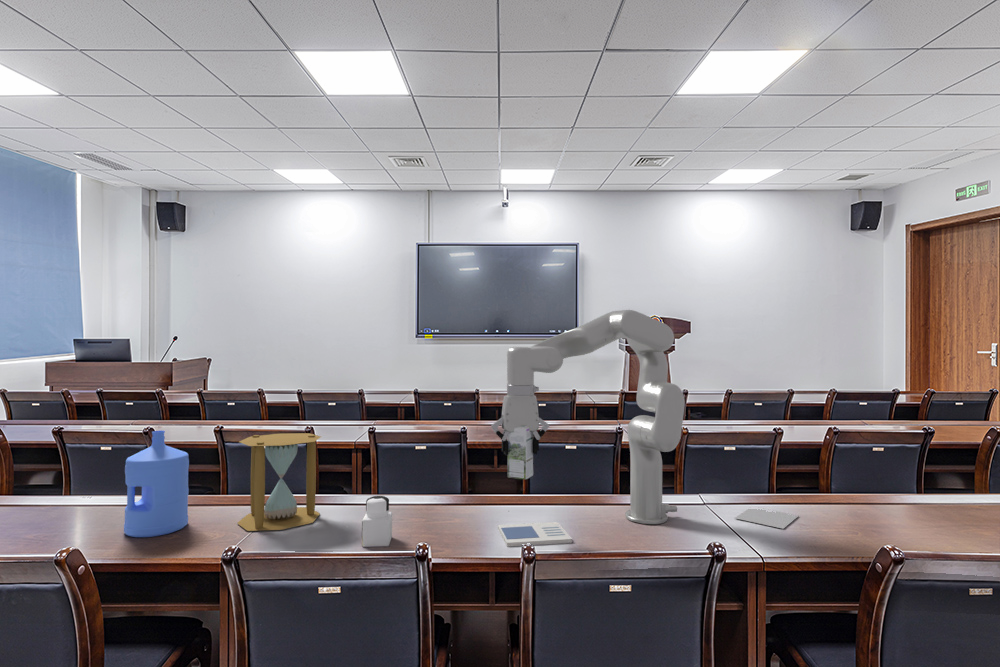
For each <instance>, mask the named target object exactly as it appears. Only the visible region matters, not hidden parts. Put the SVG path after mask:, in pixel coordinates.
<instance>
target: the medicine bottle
mask: <svg viewBox="0 0 1000 667" xmlns="http://www.w3.org/2000/svg"><path fill="white" fill-rule="evenodd" d="M392 537H393V511H390V499H389V498H388V497H386V496H384V495H373V496H370V497H368V498H367V499H366V501H365V515H364V517H363V518H362V520H361V547H362V548H373V547H374V548H375V547H376V548H377V547H389V546H390V544H391V541H392Z"/></svg>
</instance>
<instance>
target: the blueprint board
mask: <svg viewBox="0 0 1000 667" xmlns="http://www.w3.org/2000/svg"><path fill="white" fill-rule="evenodd" d="M497 530H498V532H499V534H500V536H501V538H502V540H503V541H504V544H505V546H506V547H508V548H509V547H522V546H521V545H522V544H527V543H530V544H533V545H532V546H538V545H554V544H570V543H571V544H572V543H573V537H571V536H570V534H569V533H568V532H567V531H566V530H565V529H564V528H563V527H562V525H561V524H560V523H559V522H558V521H553V522H551V521H550V522H534V523H520V524H519V523H516V524H498V525H497Z"/></svg>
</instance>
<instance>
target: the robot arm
mask: <svg viewBox="0 0 1000 667" xmlns="http://www.w3.org/2000/svg"><path fill="white" fill-rule="evenodd" d="M621 339H626V341H627V344H628V346H629V347H630V348H631V349H632V351H633V352H634V353H635V354H636V356H637V359H638V361H639V373H638V374H639V375H638V382H637V389H636V390H637V391H636V399H635V400H636V404H637V406H638V407H639V408H640V409H641V410H643V411H646V412H651V413H654V414H655V416H651V415H647V414H646V415H645V414H643V415H642V414H640V415H637V416H635V417H633V418H632V419H630V421H629V422H628V425H627V434H626V435H627V439H628V440H627V441H628V445H629V452H630V453H629V455H630V468H629V469H630V478H629V479H630V482H629V483H630V486H629V489H630V494H629V495H630V497H629V498H630V506H629V507H630V509H628V510H626V511H625V514H624V516H625V518H626V520H629V521H630V522H634V523H638V524H644V525H659V524H664V523H667V521H668V515H667V514H668V513H677V512H678V506H677V505H670V504H668V503H666V504H665V503H663V459H662V454H661V452H664V453H666V452H667V453H669V452H672V451H674V450H675V449H676V448H677V446H678V445H679V443H680V440H681V436H682V430H683V423H684V413H685V408H686V407H685V404H686V401H685V400H686V399H685V395H684V393H683V391H682V389H681V388H680V387H679V386H678V385H677V384H675V383H671V382H668V374H669V373H668V371H669V364H668V359H667V356H666V354H665V353H664V352H666V351H668V350H669V349H670V348H671V347H672V346H673V344H674V341H675V334H674V331H673V330H672V328H671V327H670V326H669V325H668V324H666V323H664V322H662V321H660V320H657V319H655V318H653V317H650V316H649V315H646V314H644V313H641V312H639V311H636V310H633V309H622V310H612V311H610V312H607V313H605V314H603V315H601V316H599V317H597V318H594V319H592V320H590V321H589V322H586V323H584V324H581V325H579V326H577V327H575V328H573V329H569V330H567V331H564V332H562V333H559V334H557V335H554V336H551V337H548V338H547V339H545V340H543V341H541V342H538V343H536V344H534V345H532V346H530V347H527V346H520V347H519V346H515V347H514V346H513V347H510V348H508V350H507V352H506V357H507V359H506V376H507V377H506V395H504V396H503V400H502V408H501V416H500V418H499V419H497V420H496V421H495V422H494V423H492V424H491V425H490V426H491V427H490V428H491V429H492V430H493V432H494V433H495V435H496V436H498V438H499V439H500V440H501V452H502V453H503V454H504V456H508V436H509V434H510V432H513V431H514V429H515V428H516V427H522V426H528V427H529V431H530V432H532V433H533V455H538V451H539V450H540V442H539V441H540V440H541V438H542V437H543V436H544V435H545V434H546V432H547V430H548V429H549V428H550V424H549V423H548V422H547V421H545V420H544V419H542V418H541V417H539V406H538V399H537V396H536V395H535V393H536V392H539V391H540V387H539V386H535V375H534V374H535V373H536V372H537V373H538V372H539V373H542V374H543V373H544V374H552V373H556V372H557V371H559V370H560V369H561V367H562V366H563V365H564V364H563V363H564V359H567V358H571V357H580V356H585V355H588V354H592V353H593V352H595V351H597V350H599V349H601V348H603V347H605V346H607V345H609V344H611V343H613V342H615V341H617V340H621ZM540 425H541V428H540ZM499 427H501V428H502V430H503V432H501V431H500V430H499ZM539 428H540V429H539Z"/></svg>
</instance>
